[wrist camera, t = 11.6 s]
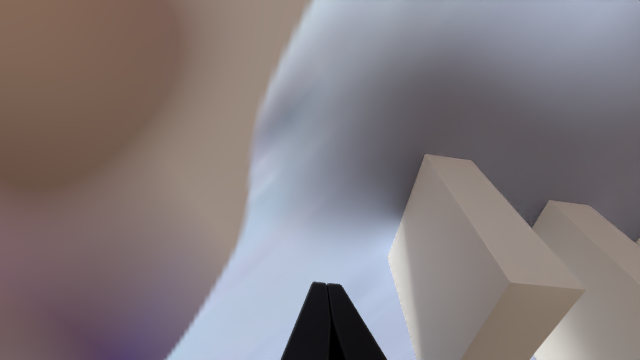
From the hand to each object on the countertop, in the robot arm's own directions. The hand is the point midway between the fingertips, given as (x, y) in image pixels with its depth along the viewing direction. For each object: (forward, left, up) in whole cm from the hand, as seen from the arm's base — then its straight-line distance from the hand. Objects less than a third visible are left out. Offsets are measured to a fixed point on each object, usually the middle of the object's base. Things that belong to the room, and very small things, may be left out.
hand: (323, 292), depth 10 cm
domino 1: (+2, -3, -3) cm, 5 cm away
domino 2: (+2, -8, -3) cm, 9 cm away
